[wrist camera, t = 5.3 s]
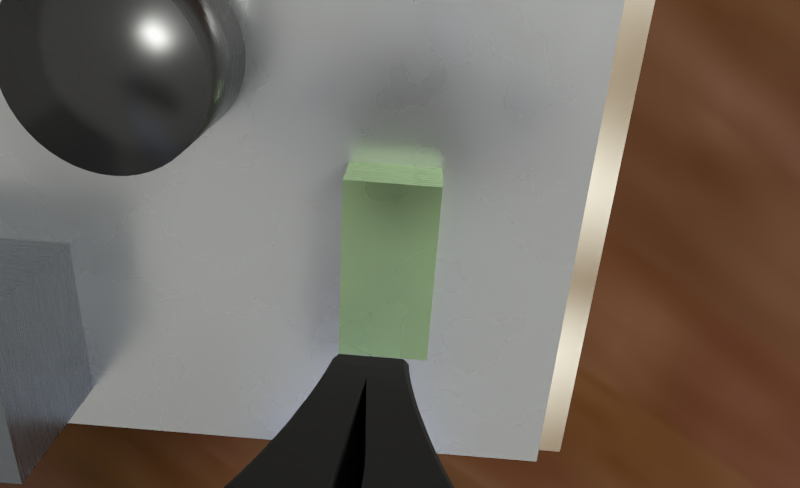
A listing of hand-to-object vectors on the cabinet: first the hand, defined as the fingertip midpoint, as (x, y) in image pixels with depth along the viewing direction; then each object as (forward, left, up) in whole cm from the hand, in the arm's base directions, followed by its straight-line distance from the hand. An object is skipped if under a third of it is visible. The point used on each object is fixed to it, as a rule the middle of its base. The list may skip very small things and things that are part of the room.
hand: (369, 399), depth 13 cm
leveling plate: (0, +6, -7) cm, 9 cm away
